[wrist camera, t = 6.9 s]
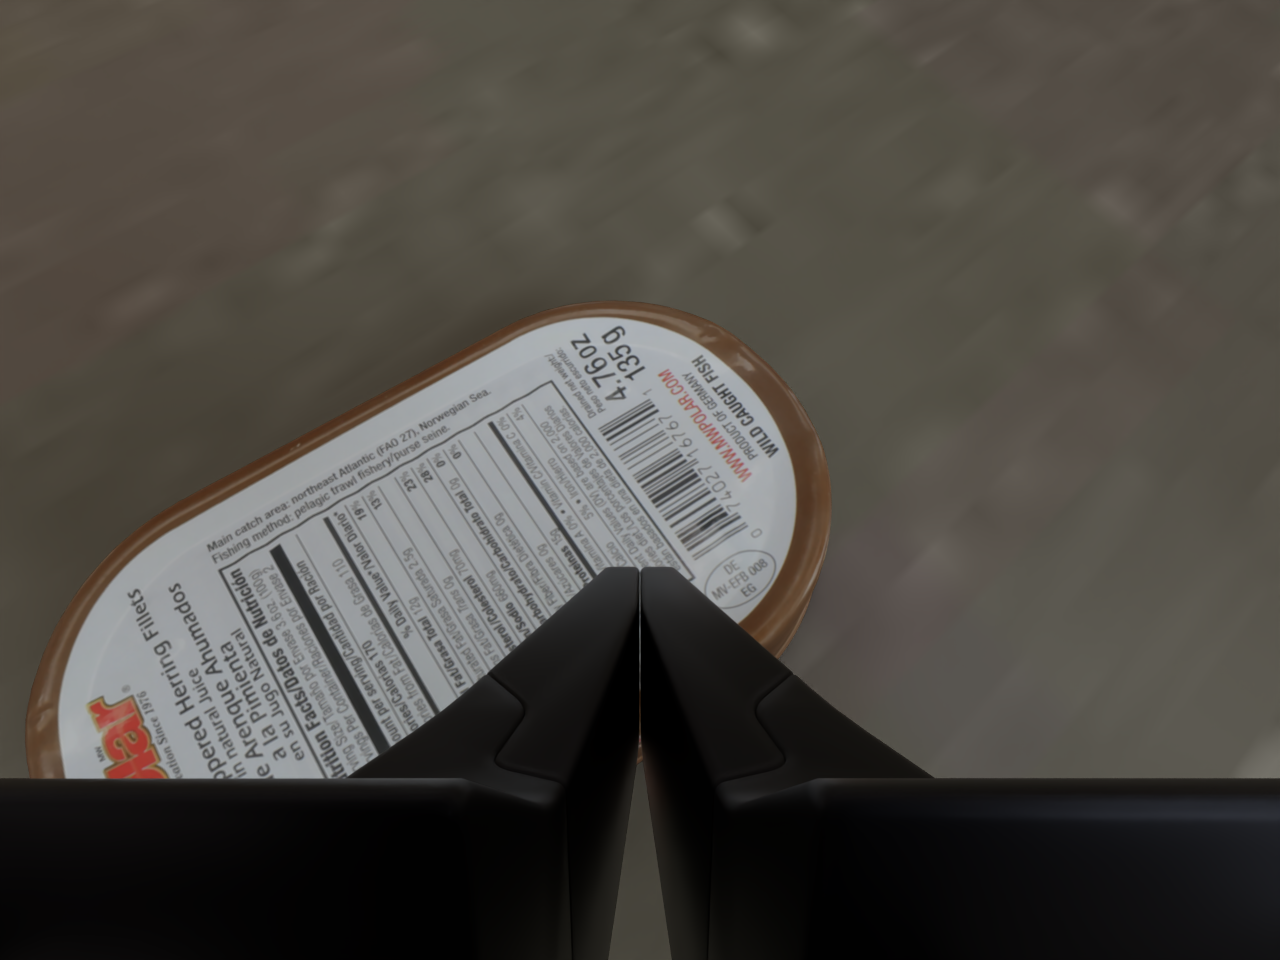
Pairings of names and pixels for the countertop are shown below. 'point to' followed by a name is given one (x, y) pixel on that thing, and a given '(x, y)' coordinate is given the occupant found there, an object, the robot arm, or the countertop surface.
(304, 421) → the countertop surface
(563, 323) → the tin
